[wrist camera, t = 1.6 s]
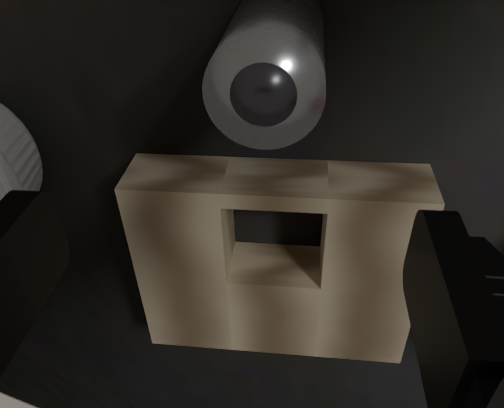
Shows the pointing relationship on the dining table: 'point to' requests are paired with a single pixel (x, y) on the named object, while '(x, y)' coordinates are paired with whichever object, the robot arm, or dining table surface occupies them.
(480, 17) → the dining table surface
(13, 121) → the ramekin
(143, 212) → the block
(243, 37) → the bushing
